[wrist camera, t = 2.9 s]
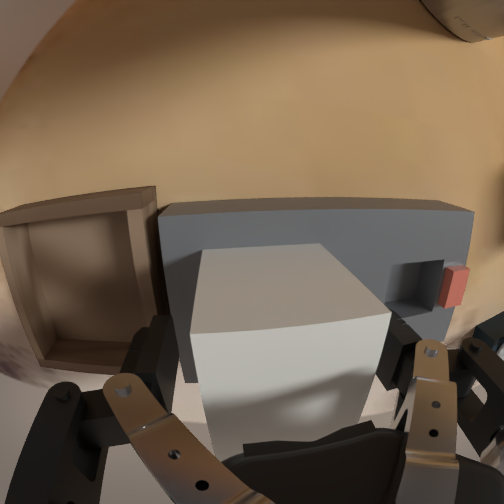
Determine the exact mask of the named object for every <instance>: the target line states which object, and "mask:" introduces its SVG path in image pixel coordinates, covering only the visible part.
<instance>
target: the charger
mask: <svg viewBox="0 0 504 504" xmlns="http://www.w3.org/2000/svg"><path fill="white" fill-rule="evenodd" d="M391 314H392V312H391V311H390V310H389V309H388V308H387V307H386V306H385V305H384V304H383V303H382V302H381V301H380V300H379V299H378V298H377V297H376V296H375V295H374V294H373V293H372V292H371V291H370V290H369V289H368V288H367V287H366V286H364V285H363V284H362V283H361V282H360V281H359V280H358V279H357V278H356V277H355V276H354V275H353V274H352V273H351V272H350V271H349V270H348V269H347V268H346V267H345V266H343V265H342V264H341V263H340V262H339V261H338V260H337V259H336V258H335V257H334V256H333V255H332V254H331V253H330V252H328V251H327V250H326V249H325V248H324V247H323V246H322V245H321V244H320V243H317V244H298V245H279V246H260V247H241V248H223V249H205V250H202V256H201V262H200V268H199V274H198V281H197V287H196V294H195V300H194V307H193V314H192V321H191V329H190V338H191V344H192V350H193V356H194V361H195V367H196V372H197V377H198V382H199V387H200V392H201V397H202V402H203V407H204V411H205V416H206V420H207V424H208V429H209V433H210V437H211V441H212V445H213V449H214V453H215V457H216V458H217V459H218V460H219V461H220V462H221V461H223V460H225V459H227V458H229V457H232V456H234V455H237V454H240V453H243V444H247V443H258V442H267V441H275V440H281V441H307V442H310V441H315V440H318V439H320V438H322V437H325V436H327V435H329V434H331V433H333V432H335V431H337V430H339V429H341V428H344V427H348V426H352V425H356V424H357V423H358V421H359V418H360V416H361V413H362V411H363V408H364V405H365V402H366V400H367V397H368V394H369V391H370V388H371V385H372V382H373V379H374V376H375V373H376V370H377V367H378V363H379V360H380V357H381V353H382V349H383V346H384V342H385V338H386V335H387V331H388V327H389V323H390V318H391Z"/></svg>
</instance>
